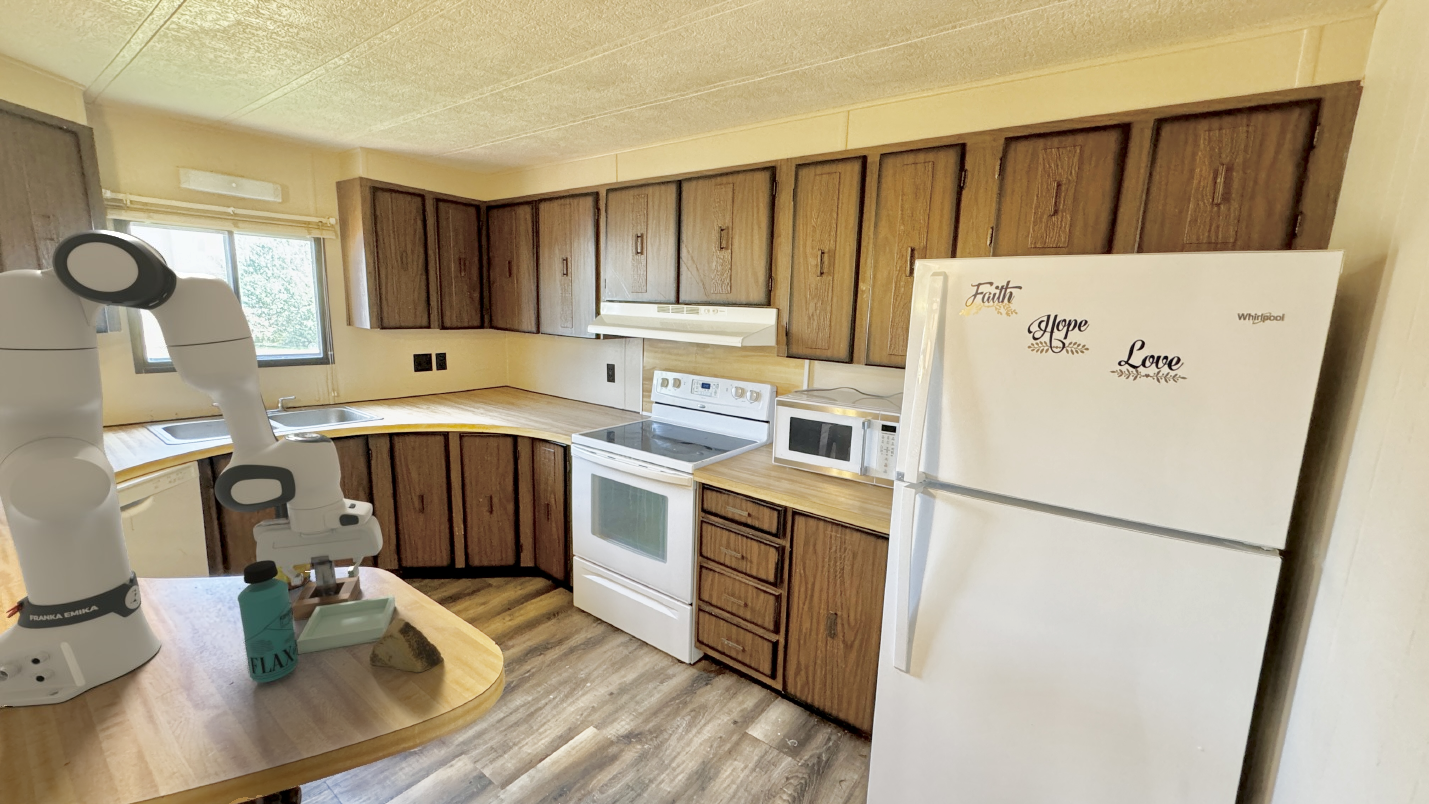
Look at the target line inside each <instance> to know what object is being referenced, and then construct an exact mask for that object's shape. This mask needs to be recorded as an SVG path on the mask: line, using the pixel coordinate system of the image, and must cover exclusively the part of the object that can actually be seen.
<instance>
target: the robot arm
mask: <svg viewBox="0 0 1429 804" xmlns="http://www.w3.org/2000/svg"><path fill="white" fill-rule="evenodd" d="M51 262H52V263H51V264H52V267H51V268H46V269H26V268H25V269H24V268H23V269H13V270H8V271H3V272H0V501H1V504H2V507H3V510H4V513H5V517H6V522H7V524H8V528H9V532H10V536H11V538H12V542H13V546H14V550H15V551H16V555H17V558H18V559H17V560H18V563H19V568H20V570H21V571H20V572H21V575H22V579H23V583H24V587H25V591H26V596H25V597H23V598H21V599H20V600H18V601H17V602H16V604H15V605H13V607H11V608H9V609H8V610H6V611H5V614H8V613H9V614H8V615H7V616H6V618H7V619H10V618H12V617H13V616H15V615H16V614H19V616H18V619H17V621H16V622H15V623H14V624H13V625H11V626H10V627H8V628H7V629H6V630H5V631H3V632H1V634H0V706H4V705H7V706H13V707H24V706H25V707H26V706H34V705H35V706H37V705H39V706H40V705H48V704H58V703H62V702H66V701H68V700H71V699H72V698H74V697H77V696H78V695H80V694H82V693H84V692H85V691H88V690H89V689H91V688H94V687H97V686H99V685H101V684H104V683H107V682H110V681H112V680H115V679H116V678H118V677H121V676H123V675H126V674H127V673H130V672H131V671H133V670H134V669H137V668H138V667H140V666H142V665H143V664H144V663H147V661H149V660H150V659H151V658H152V657H154V656H155V654H156V653H158V651H159V650H160V647H161V645H162V642H161V640H160V639H159V638H158V636H157V635H156V633H155V632H154V631H153V629H152V628H151V626H150V624H149V622H148V620H147V618H146V616H145V613H144V611H143V608H142V606H141V605H142V595H141V590H140V587H139V580H138V578H137V577H138V576H137V574H136V573H137V572H135V571H134V570H132V567H131V562H130V558H129V553H128V547H127V543H126V538H125V534H124V527H123V519H122V512H121V505H120V499H119V498H120V497H119V492H118V485H117V481H116V474H115V470H114V468H113V465H112V464H111V462H110V460H109V459H108V457H107V453H106V450H105V442H104V440H105V439H104V425H103V424H104V422H103V421H104V419H103V418H104V417H103V409H104V408H103V403H104V402H103V399H104V396H103V395H104V394H103V383H102V372H101V364H100V362H101V361H100V355H99V344H98V335H97V319H98V316H99V313H100V312H101V310H102V309H104V308H105V307H108V306H114V307H124V308H131V309H138V310H145V311H149V313H151V314H152V315H153V316H154V318H155V319H156V321H157V323H158V325H159V327H160V330H161V332H162V336H163V340H164V343H165V347H166V349H167V353H168V355H169V358H170V361H171V362H172V365H173V367H174V369H175V371H176V373H177V375H178V376H179V378H180V379H181V380H182V382H183V383H184V384H185V385H186V386H188V387H189V388H190V389H192V390H196V391H197V392H201V393H202V394H204V395H206V396H208V397H210V398H211V400H213V401H214V402H215V403H216V404H217V406H218V407H219V410H220V412H221V414H222V417H223V420H224V422H225V425H226V428H227V431H228V434H229V436H230V439H231V442H232V447H233V449H232V450H233V451H232V455H231V459H230V461H229V463H228V464H227V465H226V467H224V469H223V470H222V471H221V473H220V474H219V475H218V477H217V479H216V481H215V483H214V494H215V497H216V499H217V500H218V502H219V503H220V504H221V506H223V507H225V508H227V509H228V510H230V511H233V512H237V513H247V514H248V513H255V512H259V511H264V510H268V509H271V508H274V507H275V506H279V505H282V504H284V503H287V508H288V515H289V517H288V518H280V519H275V518H273V519H263V520H261V521H260V522H259V523H257V524H256V525H254V527H253V529H252V531H253V537H254V540H255V542H256V552H255V554H256V562H259V561H265V560H271V561H274V562H275V564H276V567H282V572H283V573H284V574H286V575H287V576H288V577H289V578H291V585H292V586H294V585H300V584H302V582H303V577H302V576H303V573H297V572H296V571H295V570H294V569H293V566H294V565H300V564H308V563H310V564H312V563H311V557H319V556H328V555H329V559H330V560H331V561H332V560H334V561H339V560H347V559H352V562H353V563H355V565H352V566H351V565H350V566H349V567H348V569H347V574H348V576H347V577H349V578H353V577H358V576H360V569H359V567H360V564H361V562H362V561H363V559H364V558H365V557H371V556H377V555H378V554H379V553H380V552H381V550H382V548H383V545H384V543H383V542H384V541H383V540H384V539H383V535H382V530H381V527H380V523H379V520H378V519H377V518H376V517H375V516H374V515H373V504H372V503H370V502H365V501H361V500H353V499H349V498H345V497H344V493H343V491H342V489H341V486H340V485H341V483H340V482H341V478H342V474H341V472H342V471H341V466H340V458H339V454H338V451H337V448H336V447H337V446H336V445H335V443H334V442H333V440H332V439H331V438H330V437H328V436H327V435H325V434H320V433H318V432H311V431H310V432H306V431H303V432H301V431H300V432H294V433H289V434H286V435H284V436H283V437H282V438H281V439H280V440H279V439H278V437H277V435H276V434H275V432H274V429H273V427H272V424H271V421H270V417H269V415H268V412H267V408H266V406H265V403H264V399H263V397H262V394H261V388H260V386H261V385H260V379H259V377H260V376H259V364H258V357H257V352H256V346H255V342H254V338H253V335H252V331H251V328H250V324H249V323H248V319H247V317H246V315H245V312H244V310H243V308H242V306H241V304H240V302H239V299H238V297H237V295H236V294H235V291H234V290H233V288H232V287H231V285H230V284H229V283H228V282H227V281H225V280H223V279H222V278H219V277H218V276H215V275H211V274H206V273H197V272H195V273H193V272H190V273H189V272H187V273H185V272H179V271H175V270H173V269H172V268H170V266H168V263H167V260H166V259H165V258H164V256H163V255H162V253H161V252H160V251H159V250H158V249H156V247H154V246H152V245H151V244H149V243H148V242H146V241H145V240H143V239H141V238H140V237H137V236H135V235H133V234H130V233H128V232H127V233H126V232H123V231H119V230H111V229H107V230H105V229H90V230H89V229H88V230H82V231H78V232H74V233H73V234H70V235H68V236H67V237H65V238H63V239H62V240H61V241H60V242H59V243H58V244H57V246H56V247H55V248H54V251H53V253H52V258H51Z"/></svg>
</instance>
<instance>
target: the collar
mask: <svg viewBox="0 0 1429 804" xmlns="http://www.w3.org/2000/svg"><path fill="white" fill-rule="evenodd" d="M360 580H361V579H360V575H358V577H353V578H349V577H348V576H344V577H338V578H337V577H336V584H337V592H338V595H332V596H325V597H318V593H317V585H316V580H315V581H308V582H307V583H305V586H303V587H304V588H303V589H302V590H301V591H300V594H299V595H298V597H297V598H296V600H295V601H294V603H293V604H292V605H291V607H292V608H291V610H292V611H293V612H292V613H293V615H292V617H293V621H299V620H306V619H308V620H309V619H310V617H311V616H312V614H313V612H314V610H315V609H316V607H317V606H324V605H331V604H337V603H344V602H351V601H356V599H357V596H358V595H359V593H360V591H361V581H360Z"/></svg>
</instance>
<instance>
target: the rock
mask: <svg viewBox="0 0 1429 804" xmlns="http://www.w3.org/2000/svg"><path fill="white" fill-rule="evenodd" d="M372 647H373V648H372V651H371V654H370V655H369V659H370V660H369V662H370V665H373V666H376V667H377V666H378V667H384V668H388V669H389V668H392V669H395V670H396V669H397V670H399V671H405V672H414V673H423V672H425V671H426V670H429V669H431V668H433V667H436V666H437V665H438V664H440V663H441V662H442V661H444V657H443V656H442V653H441V651H440V650H439V649H438V647H437V646H436V645H435V644H434V643H432V642H431V641H429V639H428V637H426V635H425V634H424V633H423V632H422V630H419V629H418V628H417V627H416V626H414V625H413V624H411V623H410V622H409V621H406V620H405V619H403V618H401V617H397V618H394V619H393V621H392V622H390V624H389V627H388V629H387V630H386V632H385V633H384V634H383V636H382V637H381V638H380V639H379V641H376V644H375V645H374V646H372Z"/></svg>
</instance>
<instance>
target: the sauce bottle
mask: <svg viewBox="0 0 1429 804" xmlns="http://www.w3.org/2000/svg"><path fill="white" fill-rule="evenodd" d="M273 510H274V519H280V518H288V517H289V515H288V508H287V503H284V504H282V505H279V506H275V507H273ZM276 568H277V570H278V574H277V576H276V577H274V578H275V579H279V580H282V581H284V582H286V583H287V584H288V590H291V589H296V588H299V587H301V586H304V585H306V584H307V583H308V582H310V580H311V572H312V571H311V563H308V564H300V565H294V566H293V569H294V570H295V571H296V572H297V573H303V576H302V577H303V582H302V584H300V585H294V586H292V585H291V578H289V577H288V576H287V575H286V574H284V573H283V572H282V567H276ZM305 571H311V572H305Z"/></svg>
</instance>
